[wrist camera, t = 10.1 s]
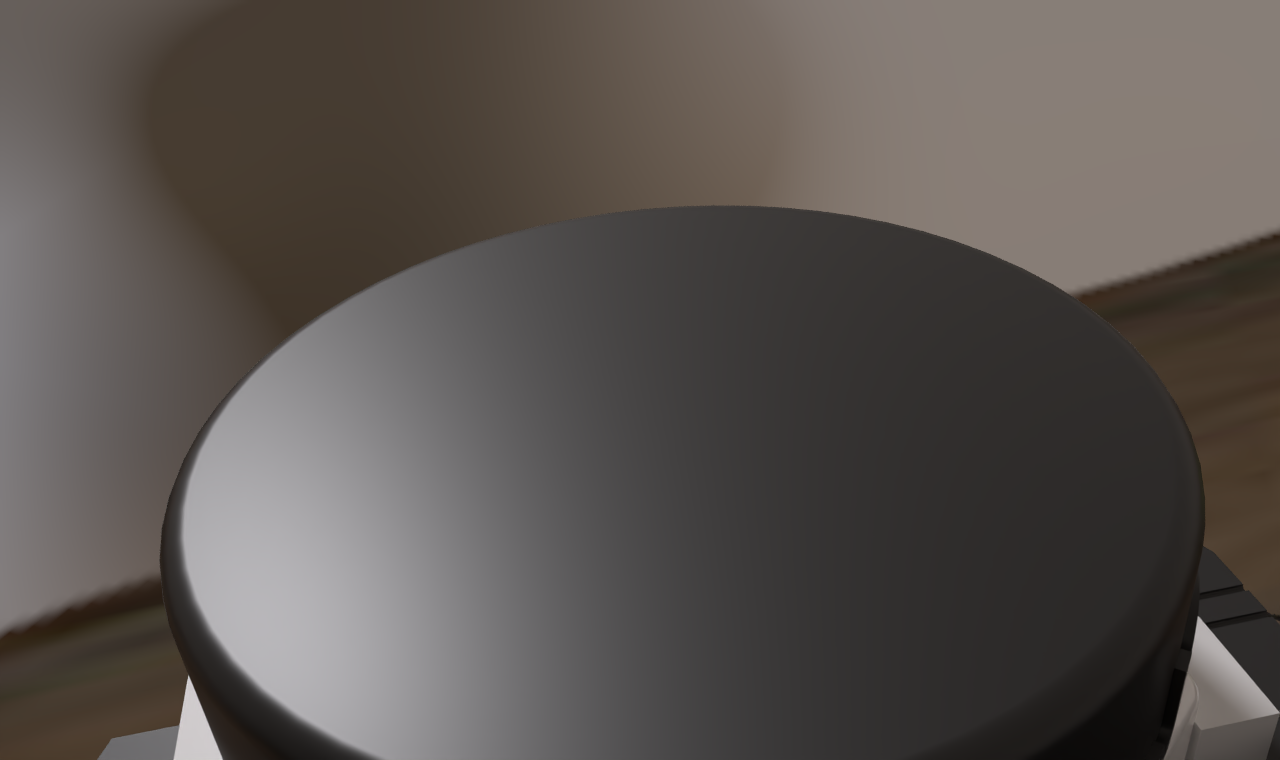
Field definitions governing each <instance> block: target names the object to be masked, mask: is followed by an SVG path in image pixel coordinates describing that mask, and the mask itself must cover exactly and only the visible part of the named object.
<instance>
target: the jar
mask: <svg viewBox="0 0 1280 760" xmlns="http://www.w3.org/2000/svg"><path fill="white" fill-rule="evenodd" d="M1204 531H1205V496H1204V488H1203V481H1202V473H1201V465H1200V462H1199V458H1198V455H1197V452H1196V449H1195V445H1194V442H1193V439H1192V435H1191V433H1190V431H1189V429H1188V426H1187V424H1186V422H1185V420H1184V418H1183V416H1182V414H1181V412H1180V410H1179V408H1178V406H1177V404H1176V402H1175V401H1174V399H1173V398H1172V396H1171V395H1170V393H1169V392H1168V390H1167V389H1166V387H1165V386H1164V384H1163V383H1162V381H1161V380H1160V378H1159V377H1158V375H1157V374H1156V372H1155V371H1154V369H1153V368H1152V367H1151V366H1150V365H1149V363H1148V362H1147V361H1146V360H1145V359H1144V358H1143V357H1142V355H1141V354H1140V353H1139V352H1138V351H1137V350H1136V348H1135V347H1134V346H1133V345H1132V344H1131V343H1130V342H1129V341H1128V340H1127V339H1125V338H1124V337H1123V336H1122V335H1121V334H1120V333H1119V332H1118V331H1117V330H1116V329H1115V328H1114V327H1112V326H1111V325H1110V324H1109V323H1108V322H1107V321H1105V320H1104V319H1103V318H1101V317H1100V316H1099V315H1098V314H1096V313H1095V312H1094V311H1092V310H1091V309H1090V308H1088V307H1087V306H1086V305H1084V304H1083V303H1082V302H1080V301H1078V300H1077V299H1075V298H1074V297H1072V296H1071V295H1069V294H1067V293H1066V292H1064V291H1063V290H1061V289H1059V288H1058V287H1056V286H1054V285H1053V284H1051V283H1049V282H1047V281H1045V280H1043V279H1042V278H1040V277H1038V276H1036V275H1034V274H1032V273H1030V272H1028V271H1026V270H1025V269H1023V268H1020V267H1018V266H1016V265H1013V264H1011V263H1009V262H1007V261H1004V260H1002V259H1000V258H997V257H995V256H993V255H991V254H988V253H986V252H983V251H981V250H978V249H975V248H972V247H970V246H967V245H964V244H961V243H959V242H956V241H953V240H949V239H947V238H943V237H940V236H937V235H933V234H930V233H927V232H924V231H919V230H916V229H911V228H907V227H904V226H899V225H895V224H891V223H887V222H882V221H876V220H871V219H866V218H861V217H856V216H850V215H843V214H836V213H829V212H821V211H812V210H801V209H792V208H779V207H760V206H687V207H685V206H684V207H668V208H654V209H642V210H634V211H625V212H615V213H608V214H601V215H595V216H588V217H583V218H576V219H570V220H565V221H560V222H556V223H551V224H545V225H540V226H537V227H532V228H529V229H524V230H520V231H516V232H512V233H508V234H505V235H501V236H498V237H494V238H491V239H488V240H484V241H480V242H477V243H474V244H471V245H468V246H465V247H462V248H459V249H456V250H454V251H450V252H448V253H445V254H442V255H439V256H437V257H434V258H432V259H429V260H427V261H424V262H422V263H419V264H417V265H414V266H412V267H409V268H407V269H405V270H403V271H401V272H398V273H396V274H394V275H392V276H390V277H388V278H386V279H383V280H381V281H379V282H377V283H375V284H373V285H371V286H369V287H367V288H366V289H364V290H362V291H360V292H358V293H356V294H354V295H353V296H351V297H349V298H347V299H345V300H344V301H342V302H340V303H339V304H337V305H336V306H334V307H332V308H331V309H329V310H327V311H326V312H324V313H322V314H321V315H319V316H318V317H316V318H315V319H313V320H312V321H310V322H309V323H308V324H306V325H305V326H303V327H302V328H300V329H299V330H298V331H296V332H295V333H293V334H292V335H290V336H289V337H288V338H287V339H285V340H284V341H283V342H282V343H280V344H279V345H278V346H277V347H276V348H274V349H273V350H272V351H271V352H269V353H268V354H267V355H266V356H265V357H263V358H262V359H261V360H260V361H259V362H258V363H257V364H256V365H255V366H254V367H253V368H252V369H251V370H250V371H249V372H247V374H246V375H244V376H243V377H242V378H241V379H240V380H239V381H238V382H237V384H236V385H235V386H234V387H233V388H232V389H231V390H230V392H229V393H228V394H227V395H226V396H225V397H224V399H223V400H222V401H221V402H220V403H219V404H218V405H217V407H216V408H215V410H214V411H213V412H212V414H211V415H210V417H209V418H208V420H207V421H206V423H205V424H204V425H203V427H202V428H201V430H200V431H199V433H198V435H197V436H196V438H195V440H194V442H193V444H192V445H191V447H190V449H189V451H188V453H187V455H186V457H185V458H184V460H183V463H182V465H181V468H180V470H179V473H178V475H177V478H176V480H175V483H174V485H173V488H172V491H171V493H170V496H169V499H168V503H167V508H166V512H165V516H164V521H163V525H162V533H161V547H160V572H161V582H162V592H163V601H164V605H165V609H166V614H167V618H168V622H169V626H170V629H171V631H172V634H173V637H174V639H175V642H176V645H177V648H178V650H179V653H180V655H181V658H182V660H183V663H184V665H185V668H186V670H187V672H188V675H189V677H190V680H191V682H192V685H193V687H194V690H195V692H196V695H197V697H198V700H199V702H200V704H201V707H202V709H203V712H204V714H205V717H206V719H207V722H208V724H209V727H210V729H211V732H212V734H213V737H214V739H215V741H216V744H217V746H218V749H219V751H220V754H221V756H222V759H223V760H1185V758H1186V754H1187V750H1188V746H1189V742H1190V738H1191V734H1192V730H1193V726H1194V722H1195V718H1196V714H1197V710H1198V706H1199V692H1198V687H1197V685H1196V683H1195V681H1194V680H1193V678H1192V677H1191V675H1190V674H1189V673H1188V668H1189V664H1190V660H1191V655H1192V648H1193V643H1194V638H1195V632H1196V626H1197V620H1198V612H1199V599H1200V584H1199V574H1198V568H1199V564H1200V559H1201V555H1202V550H1203V541H1204Z"/></svg>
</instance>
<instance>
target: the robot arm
mask: <svg viewBox="0 0 1280 760" xmlns="http://www.w3.org/2000/svg"><path fill="white" fill-rule="evenodd" d="M1198 574H1199V584H1200V599H1199V612H1198V620H1197V626H1196V632H1195V638H1194V643H1193V648H1192V655H1191V660H1190V664H1189V668H1188V673H1189V674H1190V675H1191V677H1192V678H1193V680H1194V681H1195V683H1196V685H1197V687H1198V692H1199V706H1198V710H1197V714H1196V718H1195V722H1194V726H1193V730H1192V734H1191V738H1190V742H1189V746H1188V750H1187V754H1186V758H1185V760H1280V624H1279V623H1278V622H1277V621H1276V620H1275V619H1274V618H1273V617H1268V615H1267V610H1266V609H1265V608H1264V607H1263V606H1262V605H1261V603H1260V602H1259V601H1258V600H1257V599H1256V598H1255V597H1254V596H1253V595H1252V594H1251V593H1250V591H1249V590H1248V591H1245V590H1244V589H1243V584H1242V583H1241V582H1240V581H1239V579H1238V578H1237V577H1236V576H1235V575H1234V574H1233V573H1232V572H1231V571H1230V570H1229V569H1228V567H1227V566H1226V565H1225V564H1224V563H1223V562H1222V561H1221V560H1220V559H1219V558H1218V557H1217V556H1216V554H1215V553H1214V552H1212V551H1211V550H1209V549H1207V548H1205V547H1204V546H1203V550H1202V555H1201V559H1200V564H1199V568H1198ZM97 760H223V759H222V756H221V754H220V751H219V749H218V746H217V744H216V741H215V739H214V737H213V734H212V732H211V729H210V727H209V724H208V722H207V719H206V717H205V714H204V712H203V709H202V707H201V704H200V702H199V700H198V697H197V695H196V692H195V690H194V687H193V685H192V682H191V680H190V677H189V675H188V681H187V687H186V692H185V698H184V704H183V709H182V715H181V721H180V725H179V726H174V727H169V728H164V729H158V730H153V731H148V732H143V733H138V734H133V735H128V736H123V737H118V738H113V739H111V741H110V742H109V744H108V745H107V747H106V748H105V749H104V751H103V752H102V754H101V755H100V757H99V758H98V759H97Z"/></svg>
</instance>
